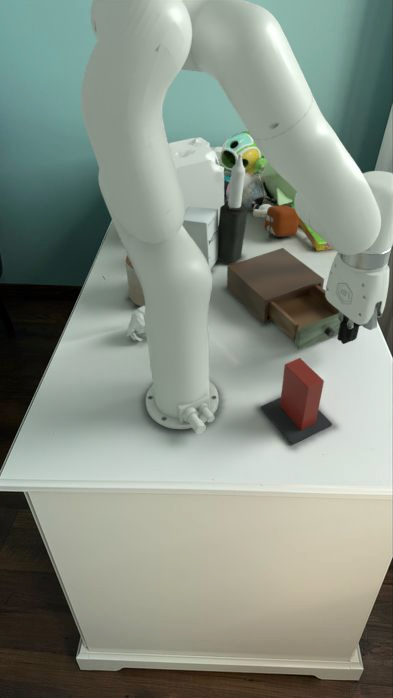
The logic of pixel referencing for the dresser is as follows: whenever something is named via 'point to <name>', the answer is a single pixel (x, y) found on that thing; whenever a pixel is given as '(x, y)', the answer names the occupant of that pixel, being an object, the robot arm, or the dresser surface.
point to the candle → (233, 218)
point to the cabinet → (269, 280)
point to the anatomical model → (250, 191)
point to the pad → (289, 426)
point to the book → (301, 393)
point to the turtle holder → (247, 148)
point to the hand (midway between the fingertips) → (346, 339)
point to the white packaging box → (203, 231)
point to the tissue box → (199, 173)
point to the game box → (313, 236)
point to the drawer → (305, 316)
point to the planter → (134, 284)
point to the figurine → (137, 323)
